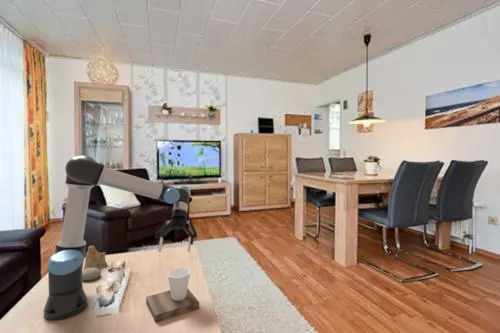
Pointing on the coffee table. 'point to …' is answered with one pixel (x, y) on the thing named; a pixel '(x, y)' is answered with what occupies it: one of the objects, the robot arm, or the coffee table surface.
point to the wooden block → (170, 305)
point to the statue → (94, 259)
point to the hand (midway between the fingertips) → (174, 250)
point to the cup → (178, 283)
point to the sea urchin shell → (90, 274)
